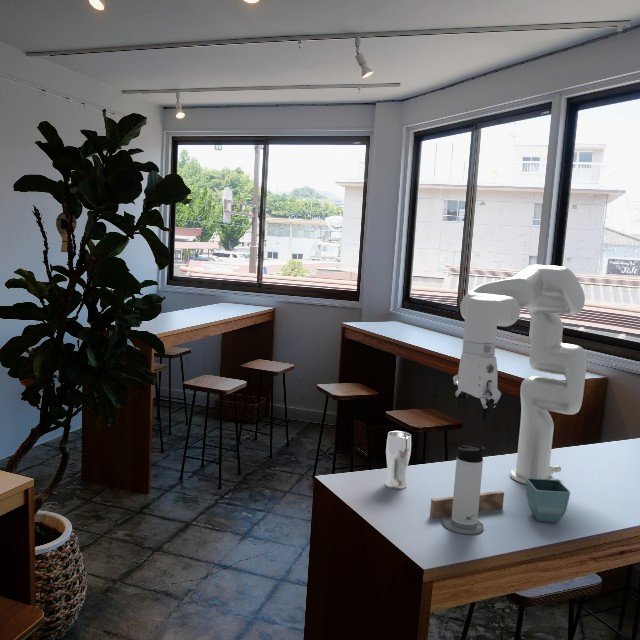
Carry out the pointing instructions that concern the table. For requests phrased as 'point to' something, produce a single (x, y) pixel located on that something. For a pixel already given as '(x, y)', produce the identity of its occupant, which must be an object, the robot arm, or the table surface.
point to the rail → (486, 503)
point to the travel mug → (467, 486)
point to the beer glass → (397, 458)
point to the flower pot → (547, 499)
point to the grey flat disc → (453, 528)
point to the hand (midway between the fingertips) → (473, 417)
